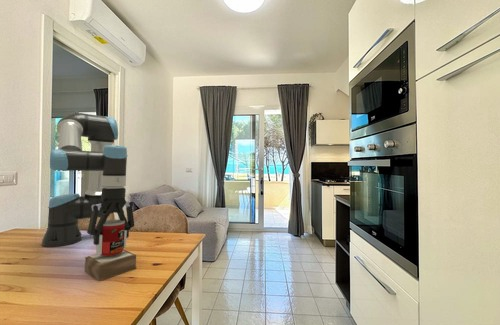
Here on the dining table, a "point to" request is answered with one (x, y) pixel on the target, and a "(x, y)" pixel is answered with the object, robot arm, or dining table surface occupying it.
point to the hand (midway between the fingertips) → (111, 250)
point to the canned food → (112, 237)
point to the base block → (109, 264)
